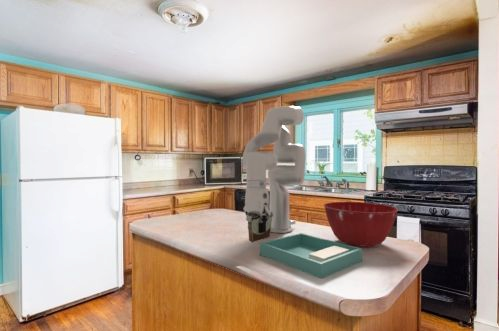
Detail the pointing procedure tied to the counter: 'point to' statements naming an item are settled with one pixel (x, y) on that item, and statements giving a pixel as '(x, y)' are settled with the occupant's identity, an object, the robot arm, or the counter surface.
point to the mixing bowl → (360, 222)
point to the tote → (299, 248)
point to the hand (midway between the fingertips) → (256, 230)
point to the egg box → (327, 253)
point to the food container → (257, 227)
